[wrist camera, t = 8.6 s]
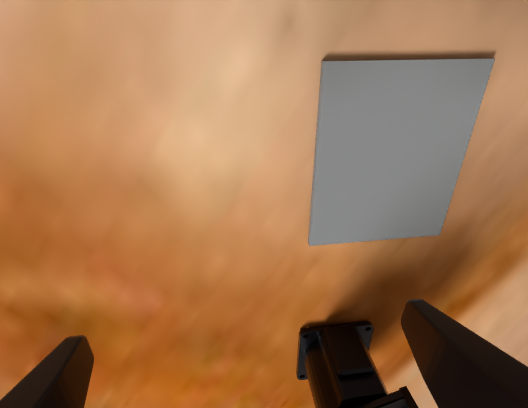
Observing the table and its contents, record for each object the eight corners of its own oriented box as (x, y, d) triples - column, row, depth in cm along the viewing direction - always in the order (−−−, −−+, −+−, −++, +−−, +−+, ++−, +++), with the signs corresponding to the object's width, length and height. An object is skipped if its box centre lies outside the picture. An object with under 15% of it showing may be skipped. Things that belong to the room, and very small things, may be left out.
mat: (436, 232, 24) (439, 235, 24) (308, 242, 23) (309, 245, 22) (489, 58, 18) (495, 58, 18) (321, 60, 17) (323, 61, 17)
